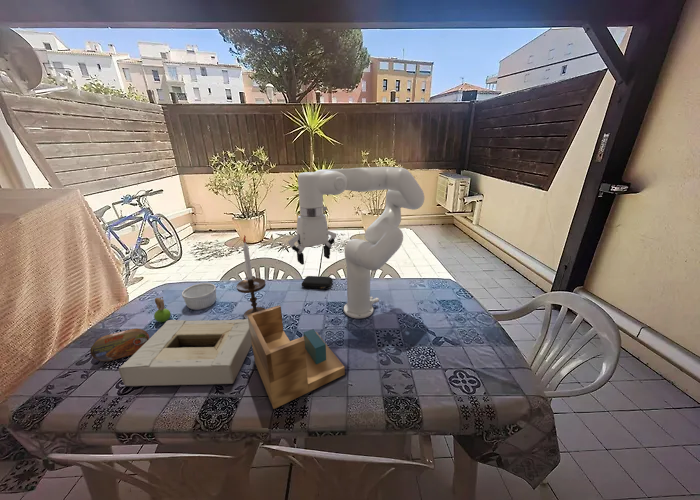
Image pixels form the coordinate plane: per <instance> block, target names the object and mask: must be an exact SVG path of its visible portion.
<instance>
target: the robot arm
mask: <svg viewBox="0 0 700 500" xmlns="http://www.w3.org/2000/svg"><path fill="white" fill-rule="evenodd" d="M297 186H298V187H297V188H298V200H299V201H298V203H299V215H298V216H297V220H296V235H295V236H293V237H292V238H291V239H289V240H288V241H287V244H288V245H289V247H290V249H291V250H293V251H295V252H296V261H297V262H298V263H299V264H301V266H303V265H305V256H304V252H303V251H304V250H305V249H306V248H310V247H311V248H312V247H317V246H320V245H323V257H324V258H325V259H328V260H329V259H330V258H331V248H332V245H333V244H334V243H335V240H336V238H337V233H335V232H334V231H330V230H329V226H328V221H327V216H326V215H325V211H327V210H328V208H327V206H324V196H326V195H329V196H338V195H341V194H343V193H344V192H345V191H351V192H359V193H360V192H361V193H366V192H367V193H368V192H374V191H375V192H376V191H386V194H385V206H384V210H383V212H382V213H381V214H380V215H379V216H378V217H377V218H376V219H374V221H373V222H372V223H371V224H370V225H369V226H368V227H367V228H366V229H365V231H364V238H365V239H363V238H362V239H361V238H352V239H349V240H348V241H347V242H346V244H345V246H344V259H345V264H346V292H347V293H346V298H347V299H346V301H347V302H346V304H345V305H344V306H343V313H344V314H345V315H346V316H347V317H349V318H351V319H366V318H368V317H370V316H372V314H373V313H374V306H373V305H374V304H376V303H379V302H380V299H379V297H373V296H371V276H372V275H371V271H373V272H375V271H378V270H380V269H381V268H382V267H384V265H386V263H387V262H388V261H389V260H390V259H391V258H392V257H393V256H394V255H395V254H396V253H397V252H398V251H399V250H400V248H401V246H402V245H403V244H402V243H403V241H404V232H403V231H402V229H401V228H399V226H400V225H401V222H402V208H403V209H407V210H412V211H413V210H414V211H415V210H418V209H420V208H421V207H422V206H423V205H424V203H425V193H424V190H423V188H422V187H421V186H420V184H419V183H418V181H417V179H416V178H415V177H414V176H413V174H412V173H411V172H410V170H409V169H407V168H405V167H399V166H397V167H395V166H372V167H371V166H370V167H367V166H366V167H352V168H327V169H326V168H324V169H317V170H316V171H304V172H300V173H299V174H298V176H297ZM329 236H330V238H329ZM296 242H297V246H296V245H295V243H296Z"/></svg>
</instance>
